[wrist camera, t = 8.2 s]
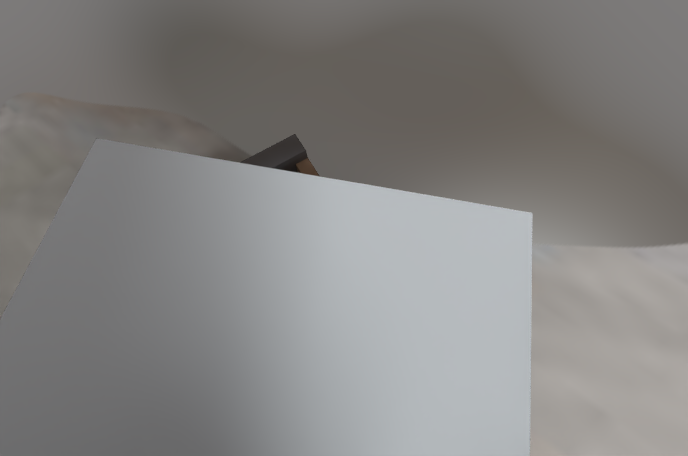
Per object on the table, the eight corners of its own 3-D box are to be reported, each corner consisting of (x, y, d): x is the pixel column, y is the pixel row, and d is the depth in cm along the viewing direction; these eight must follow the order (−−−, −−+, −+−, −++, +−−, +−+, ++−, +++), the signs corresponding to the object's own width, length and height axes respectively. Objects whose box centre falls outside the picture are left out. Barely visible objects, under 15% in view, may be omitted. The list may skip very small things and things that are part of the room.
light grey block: (390, 309, 15) (531, 212, 3) (372, 427, 14) (524, 1047, 2) (289, 289, 16) (96, 138, 4) (260, 401, 14) (-231, 752, 2)
